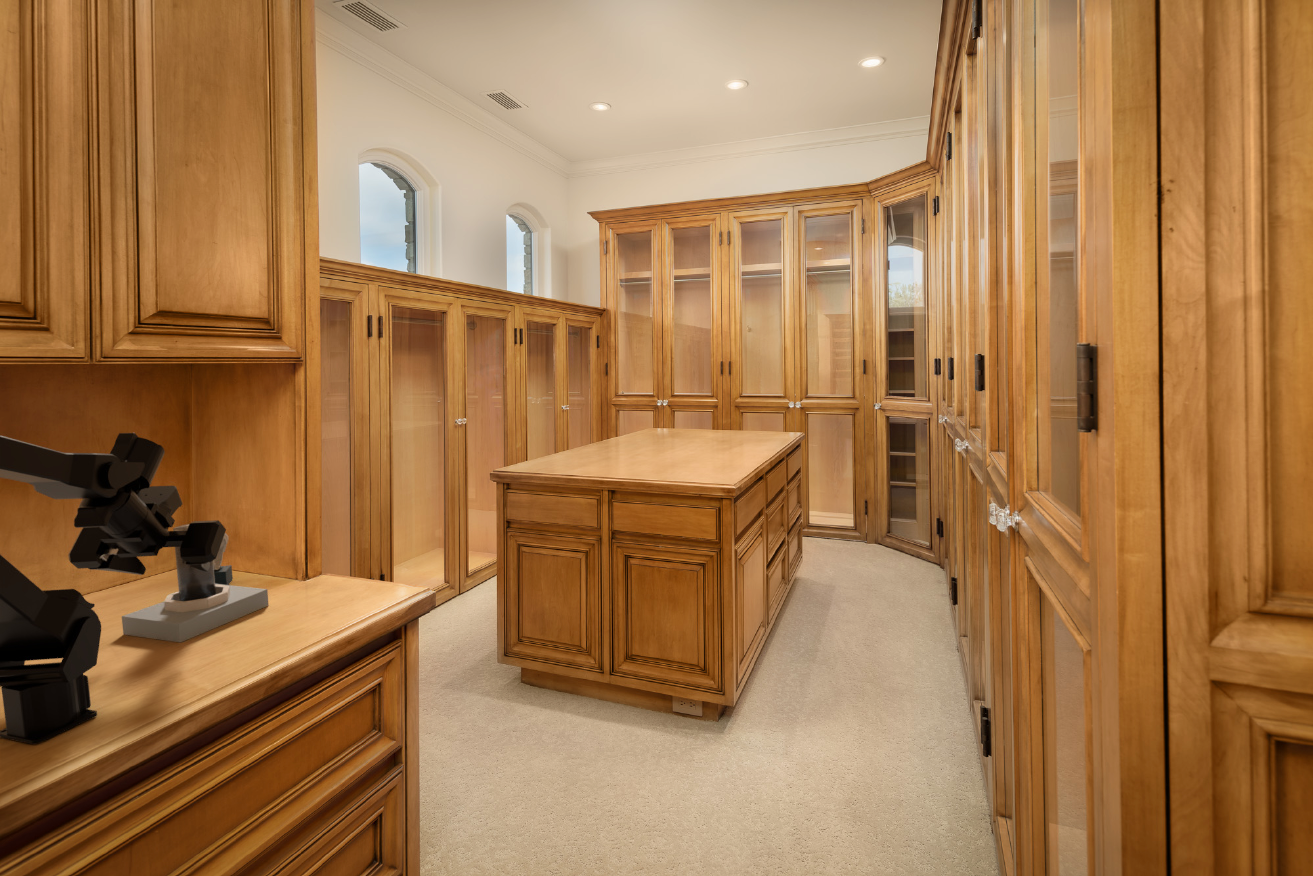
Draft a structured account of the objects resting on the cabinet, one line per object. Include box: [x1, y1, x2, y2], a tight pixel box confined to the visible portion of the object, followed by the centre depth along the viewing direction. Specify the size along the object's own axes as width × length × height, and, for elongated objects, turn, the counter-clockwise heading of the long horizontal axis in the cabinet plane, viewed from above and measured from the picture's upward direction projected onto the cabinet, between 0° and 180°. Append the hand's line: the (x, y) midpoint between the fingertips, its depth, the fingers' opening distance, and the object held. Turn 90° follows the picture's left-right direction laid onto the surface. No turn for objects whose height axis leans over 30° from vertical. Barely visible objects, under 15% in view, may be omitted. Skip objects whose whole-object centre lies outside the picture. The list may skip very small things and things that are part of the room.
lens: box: [172, 523, 216, 601], centre depth 107 cm, size 5×5×13 cm
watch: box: [213, 532, 234, 585], centre depth 124 cm, size 6×8×11 cm
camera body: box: [121, 584, 270, 643], centre depth 108 cm, size 16×12×4 cm
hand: (176, 570), depth 101 cm, fingers open, 9 cm apart
